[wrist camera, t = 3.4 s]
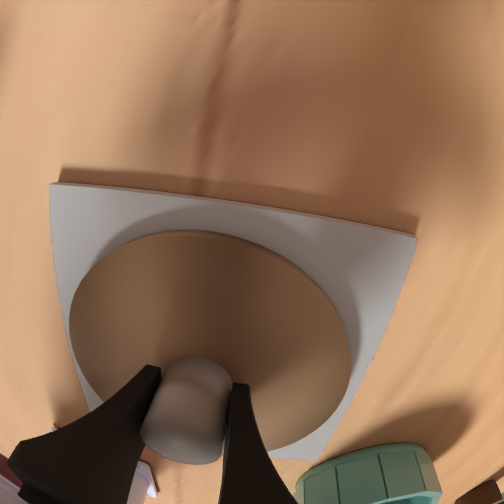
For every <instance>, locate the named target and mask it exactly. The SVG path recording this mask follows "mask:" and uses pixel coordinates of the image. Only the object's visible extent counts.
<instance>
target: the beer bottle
mask: <svg viewBox="0 0 504 504" xmlns="http://www.w3.org/2000/svg"><path fill="white" fill-rule="evenodd" d="M455 504H504V501H503V498H502V495H501V492H500V490H499V488H498V485H497V483H496V481H495V480H491V481H488V482H485V483H483V484H481V485H480V486H478V487H476V488H474V489H472V490H471V491H469V492H467V493H466V494H465V495H463V496H462V497H460V498H459V499H457V500H456V502H455Z"/></svg>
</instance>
